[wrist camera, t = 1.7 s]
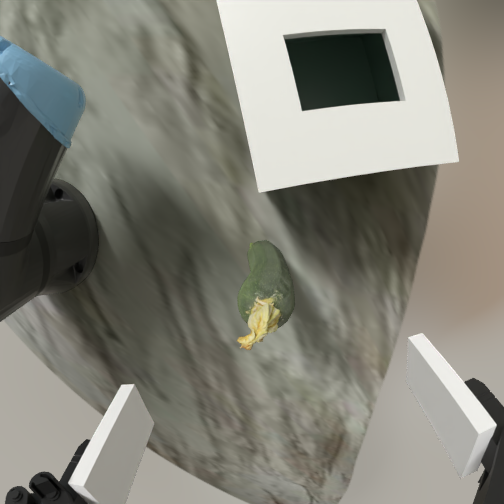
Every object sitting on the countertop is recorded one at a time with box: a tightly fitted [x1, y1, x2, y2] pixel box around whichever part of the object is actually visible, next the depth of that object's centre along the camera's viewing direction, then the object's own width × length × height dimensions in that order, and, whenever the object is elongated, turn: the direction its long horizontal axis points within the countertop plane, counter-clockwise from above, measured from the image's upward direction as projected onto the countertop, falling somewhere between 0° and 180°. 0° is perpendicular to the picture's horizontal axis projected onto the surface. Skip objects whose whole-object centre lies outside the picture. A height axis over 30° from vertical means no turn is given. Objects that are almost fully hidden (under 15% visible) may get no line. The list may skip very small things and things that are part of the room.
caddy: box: [217, 0, 459, 193], centre depth 26 cm, size 16×16×14 cm
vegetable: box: [237, 240, 295, 350], centre depth 28 cm, size 4×4×20 cm
